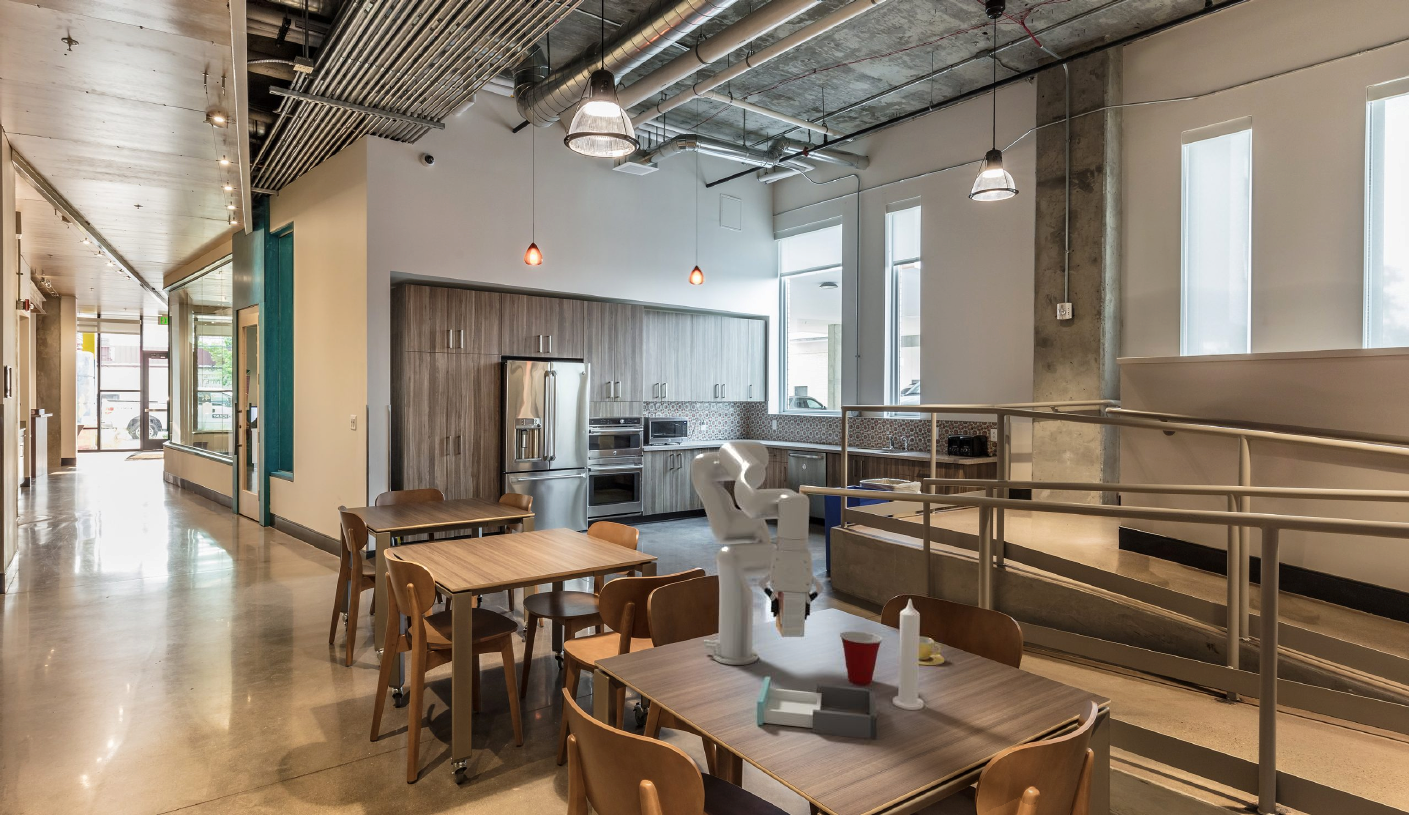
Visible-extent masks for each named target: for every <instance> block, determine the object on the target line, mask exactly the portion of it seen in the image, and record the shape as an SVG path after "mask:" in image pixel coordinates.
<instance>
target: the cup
mask: <svg viewBox="0 0 1409 815" xmlns="http://www.w3.org/2000/svg"><path fill="white" fill-rule="evenodd" d="M935 647H936V648H938V649H937V651H933V650H934V648H935ZM941 649H942V648H941V646H940V644H938V643H935V640H934V639H933V638H930V637H928V636H920V635H919V665H922V666H936V665H941V664H943V663H944V662H945V661H946V660H945V658H944V657H943V656H942V655H940V653H941V651H942V650H941ZM930 658H932V660H931V661H926V660H929V659H930Z"/></svg>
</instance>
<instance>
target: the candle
mask: <svg viewBox="0 0 1409 815" xmlns="http://www.w3.org/2000/svg"><path fill="white" fill-rule="evenodd" d="M920 614H921V613H920V612H918V610H916V609H915V608H914V605H913V601H912V599H911V598H909V599H908V602H907V605H906V607H905V608H903V609H902V610H900V612H899V648H898V649H899V650H898V652H899V653H898V695H895V696H893V698H892V704H893V705H894V706H896V707H897V708H899V709H903V710H908V711H909V710H910V711H918V710H921V709H922V708H924V701H923V700H922V699H921V698H919V677H920V676H919V674H920V673H919V672H920V670H919V668H920V666H919V665H920V664H919V661H920V659H919V636H920V627H921V626H920V624H921V623H920V622H921V621H920V620H921V615H920Z"/></svg>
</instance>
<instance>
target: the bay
mask: <svg viewBox="0 0 1409 815" xmlns="http://www.w3.org/2000/svg"><path fill="white" fill-rule="evenodd" d="M815 686H816V687H815V693H822V701H821V707H829V708H830V707H831V708H840V709H848V710H849V709H850V710H858V711H859V710H860V711H861V710H862V711H868V714H863V713H853V712H844V711H843V712H842V711H832V710H831V711H830V710H822V709H821V710H815V709H813V728H811V729H812V730H811V731H812V734H813V733H814V734H821V735H822V734H823V735H832V736H841V737H849V738H850V737H852V738H859V739H860V738H861V739H870V740H877V728H878V727H877V725H878V724H877V722H878V720H877V719H878V718H877V717H878V716H877V704H876V690H875V689H873V688H871V689H870V688H869V689H868V688H860V687H851V686H838V685H829V684H816V685H815Z"/></svg>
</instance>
